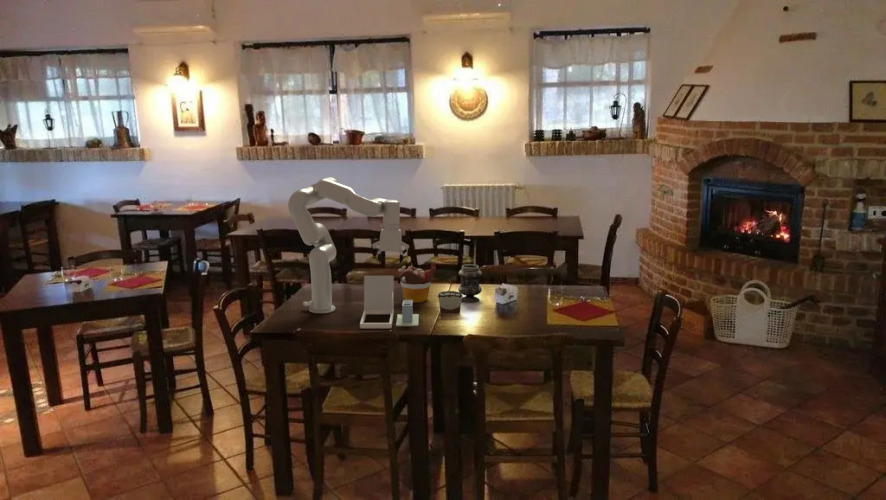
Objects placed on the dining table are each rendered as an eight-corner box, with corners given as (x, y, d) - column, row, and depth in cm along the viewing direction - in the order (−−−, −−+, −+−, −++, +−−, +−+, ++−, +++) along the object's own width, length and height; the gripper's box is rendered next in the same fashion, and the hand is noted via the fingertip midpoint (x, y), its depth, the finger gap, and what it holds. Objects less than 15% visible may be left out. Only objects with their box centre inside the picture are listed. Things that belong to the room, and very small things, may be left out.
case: (360, 328, 305) (359, 289, 301) (365, 311, 330) (364, 275, 326) (391, 328, 305) (390, 289, 301) (394, 311, 330) (393, 275, 327)
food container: (462, 310, 332) (462, 290, 330) (462, 314, 326) (463, 294, 324) (436, 310, 332) (436, 290, 330) (437, 314, 326) (437, 294, 324)
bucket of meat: (395, 304, 342) (394, 265, 338) (400, 295, 358) (400, 258, 354) (434, 305, 340) (434, 266, 336) (438, 296, 356) (438, 259, 352)
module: (402, 322, 311) (402, 304, 310) (403, 316, 320) (403, 299, 319) (412, 322, 312) (412, 304, 310) (412, 316, 320) (412, 299, 319)
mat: (396, 326, 308) (396, 324, 308) (397, 315, 324) (397, 314, 324) (418, 326, 308) (418, 324, 308) (418, 315, 324) (418, 314, 324)
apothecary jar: (482, 297, 355) (482, 263, 352) (481, 303, 344) (481, 269, 340) (458, 296, 357) (459, 262, 353) (457, 302, 345) (457, 268, 341)
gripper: (371, 227, 313) (371, 263, 316) (409, 228, 313) (408, 265, 316) (373, 224, 320) (372, 259, 324) (410, 226, 320) (409, 261, 324)
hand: (390, 262), depth 320 cm, fingers open, 9 cm apart
